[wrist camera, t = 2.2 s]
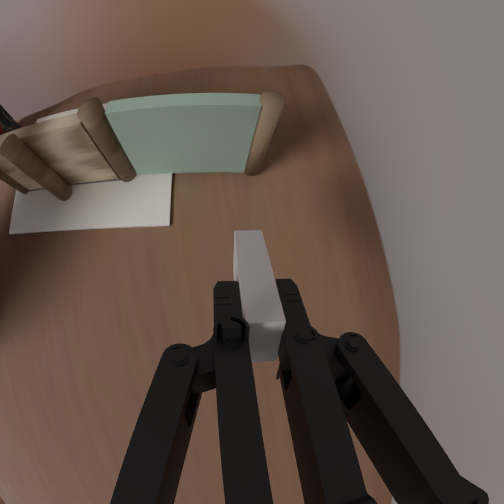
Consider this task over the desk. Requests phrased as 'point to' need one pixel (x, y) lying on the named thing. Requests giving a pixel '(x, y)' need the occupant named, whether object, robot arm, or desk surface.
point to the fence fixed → (64, 153)
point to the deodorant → (7, 122)
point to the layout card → (95, 203)
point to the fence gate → (196, 131)
